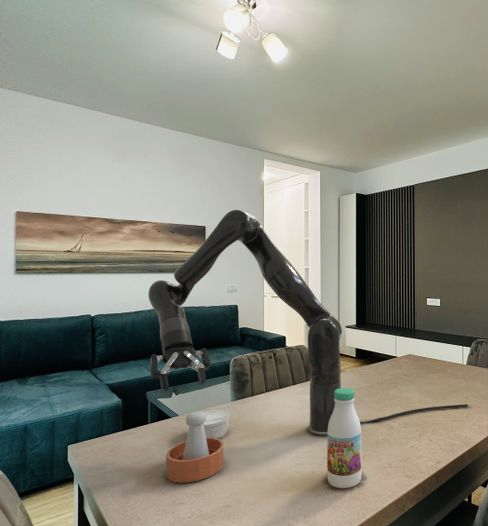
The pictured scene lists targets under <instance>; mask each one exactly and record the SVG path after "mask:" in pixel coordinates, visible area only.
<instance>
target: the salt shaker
mask: <svg viewBox="0 0 488 526" xmlns="http://www.w3.org/2000/svg"><path fill="white" fill-rule="evenodd" d="M205 421H206V414H205V413H204V411H202V410H197V411H196V410H195V411H191V412H190V413H188V414H187V416H186V418H185V422H186V425H187V426H188V429H187V430H188V431H187V436H186V439H185V441H186V444H185V449H184V454H183V458H182V460H193V459H199V458H202V457H205V456H208V455H209V451H208V446H207V440H206V434H205V429H204V422H205Z"/></svg>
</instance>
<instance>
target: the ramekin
mask: <svg viewBox="0 0 488 526" xmlns="http://www.w3.org/2000/svg"><path fill="white" fill-rule="evenodd" d="M203 412H204V413H205V414H206V421H205V422H204V429H205V434H206V438H216V439H221V438H223V437H224V436H225V435H226V433H227V432H228V430H229V422H230V418H231V413H230V412H229V411H227V410H223V409H211V410H205V411H203Z"/></svg>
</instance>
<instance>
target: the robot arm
mask: <svg viewBox="0 0 488 526" xmlns="http://www.w3.org/2000/svg"><path fill="white" fill-rule="evenodd" d="M238 241H239V242H240V243H241V244H243V245H244V246H245V248H246V249H247V250H248V251H249V252H250V253H251V254H252V256H253V257H254V259H255V261H256V263H257V265H258V268H259V270H260V272H261V275H262V277H263V278H264V280H265V282H266V283H267V285H268V286H269V287H270V289H271V290H272V291H273V292H274V293H275V295H276V296H277V297H278V298H279V299H280V300H281V301H282V302H283V303H285V304H286V305H287V306H288V307H290V308H291V309H292V310H294V311H295V312H296V313H297V314H298V315H299V316H300V317H301V318H302V320H303V321H304V322H305V324H306V326H307V327H308V330H307V331H308V332H307V362H308V366H309V432H310V433H311V434H312V435H316V436H327V435H328V424H329V420H330V418H331V415H332V413H333V410H334V407H335V401H334V391H335V390H336V389H340V388H342V371H341V370H342V365H341V360H340V359H341V358H340V340H341V338H342V335H343V329H342V326H341V323H340V322H339V321H338V319H336V317H335V316H333V315H332V313H330V312H329V310H328V309H326V307H324V305H323V304H322V303H321V302H320V301H319V300H318V298H317V297H316V296H315V294H314V292H313V291H312V290H311V289H310V287H309V285H308V284H307V282H306V281H305V280H304V278H303V277H302V276H301V274H300V273H299V272H298V271H297V269H296V268H295V267H294V266H293V265H292V263H291V262H290V261H289V259H287V257H286V256H285V254H283V253H282V251H280V249H279V248H278V247H277V246H276V245H275V244H274V243H273V241H272V240H271V239H270V237H269V236H268V234H267V232H266V231H265V229H264V227H263V226H262V225H261V223H260V222H259V220H258V219H257V217H256V216H255V215H253V214H252V213H250V212H247V211H245V210H241V209H232V210H230V211H228V212H227V213H226V214H224V216H223V217H222V218H221V220H220V221H219V222H218V224H217V225H216V226H215V227H214V229H213V230H212V232H211V233H210V234H209V235H208V237H207V238H206V239H205V241H204V242H203V243H202V244H201V245H200V246H199V247H198V248H197V249H196V250H195V251H194V252H193V254H191V256H189V257H188V258H187V259H186V260H185V261H184V262H183V263H182V264H181V265H180V266H179V267H178V268H177V269H175V271H174V273H173V277H174V279H175V281H176V282H177V283H178V285H176V284H174V283H172V282H170V281H166V280H163V279H160V280H156V281H154V282H153V283H152V284H151V285H150V287H149V289H148V300H149V303H150V305H151V307H152V309H153V311H154V312H155V314H156V315H157V317H158V318H157V319H158V325H159V339H160V343H161V348H162V349H161V350H162V355H157V354H156V353H152V354H151V356H150V360H149V361H150V363H149V364H150V377H151V379H159V381H160V383H159V384H160V388H161V390H164V392H167V391H169V388H170V384H169V378H168V374H169V373H170V371H171V370H172V369H174V370H178V369H187V368H190V369H191V370H193V371H196V372H197V377H198V381H199V385H200V386H202V385H204V383H205V382H206V380H207V375H206V371H208V370H210V367H211V365H212V363H211V359H210V356H209V352H208V350H207V348H206V347H202V348H201V349H200V350H199V349H198V350H196V349H195V348H194V345H193V341H192V336H191V335H192V334H191V330H190V327H189V324H188V322H187V317H186V313H185V309H184V307H183V306H182V305H183V304H185V302H186V301H187V299H188V297H189V295H190V294H191V292H192V291H193V289H194V287H195V286H196V285H197V284H198V283H199V282H200V281H201V280H202V279H203V278H204V277H205V276H206V275H207V274H208V273H209V272H210V271H211V269H212V268H213V266H214V265H215V263H216V262H217V260H218V258H219V257H220V255H222V254H223V252H224V251H225V250H226V249H227V248H228V247H230V246H231V245H233V244H234V243H235V242H238ZM197 357H198V358H199V359H201V362H200V361H199V359H198V358H197ZM161 361H162V362H163V363H164V364H165V365H164V367H163V368H162V369H161V370H159V369H158V365H159V364H160V362H161ZM468 407H469V404H468V403H464V404H451V405H442V406H441V405H439V406H429V407H428V406H427V407H422V408H416V409H410V410H405V411H402V412H398V413H394V414H391V415H387V416H383V417H377V418H374V419H371V420H367V421H360V425H364V424H372V423H377V422H380V421H386V420H389V419H393V418H396V417H399V416H403V415H407V414H413V413H418V412H425V411H433V410H442V409H457V408H468Z"/></svg>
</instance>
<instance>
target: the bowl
mask: <svg viewBox="0 0 488 526" xmlns="http://www.w3.org/2000/svg"><path fill="white" fill-rule="evenodd" d="M206 440H207V446H208V451H209V455H208V456H205V457H202V458H199V459H193V460H182V458H183V454H184V449H185V444H186V440H185V441H182V442H179V443H178V444H175V445H173V446H172V447H170V448H169V449H168V450H167V452H166V455H165V476H166V478H167V479H168V480H169V481H171V482H174V483H192V482H197V481H201V480H204V479H206V478H207V479H208V478H209V477H212V476H213V475H215V474H217V473H218V472H219V471H220V470H221V469H222V468H223V467H224V450H225V449H224V441H222V440H221V438H218V439H216V438H206Z"/></svg>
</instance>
